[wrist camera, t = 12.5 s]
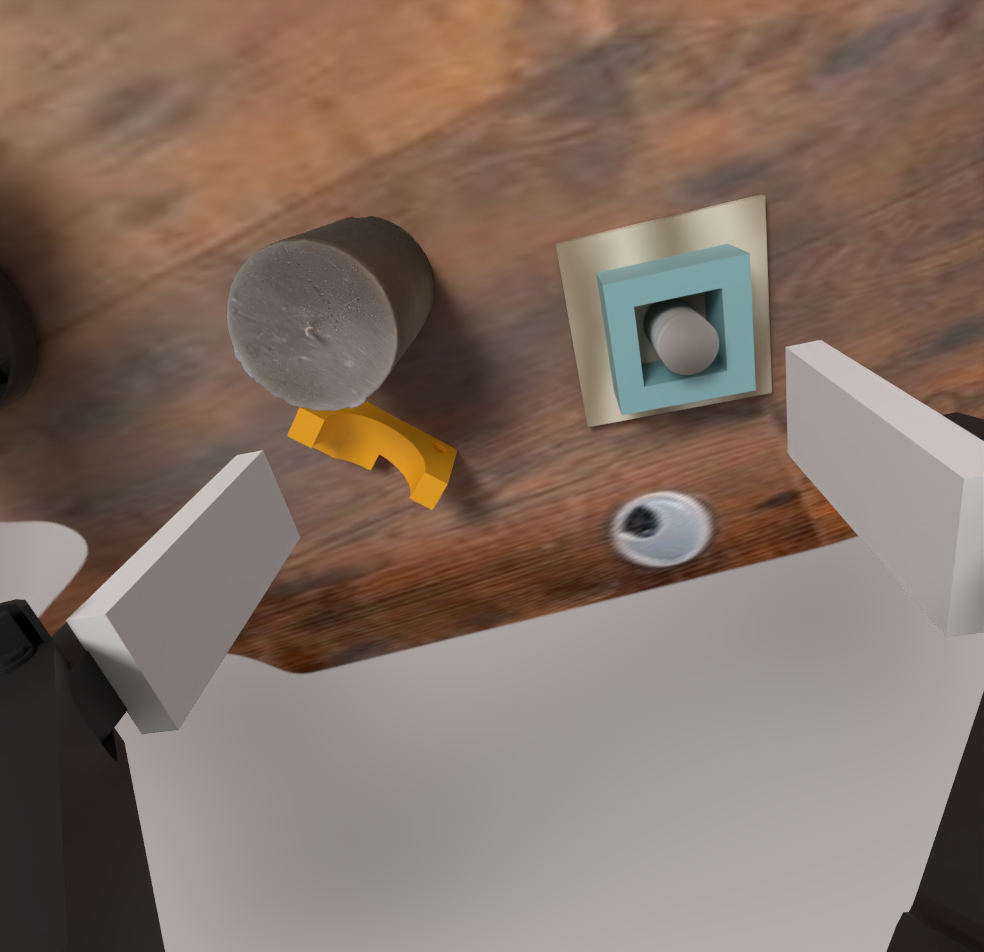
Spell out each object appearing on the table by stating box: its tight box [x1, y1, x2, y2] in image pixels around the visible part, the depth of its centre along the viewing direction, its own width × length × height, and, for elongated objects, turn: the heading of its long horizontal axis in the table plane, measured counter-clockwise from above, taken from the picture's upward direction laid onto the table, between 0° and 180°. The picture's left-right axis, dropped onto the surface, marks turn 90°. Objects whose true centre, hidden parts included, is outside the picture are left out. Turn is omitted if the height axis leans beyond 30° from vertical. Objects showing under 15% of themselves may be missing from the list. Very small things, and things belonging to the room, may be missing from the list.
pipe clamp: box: [287, 401, 457, 510], centre depth 49 cm, size 12×4×6 cm, turn 61°
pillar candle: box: [227, 216, 434, 411], centre depth 39 cm, size 10×10×15 cm
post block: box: [556, 195, 772, 427], centre depth 42 cm, size 14×14×8 cm
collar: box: [596, 244, 756, 415], centre depth 43 cm, size 9×9×5 cm
